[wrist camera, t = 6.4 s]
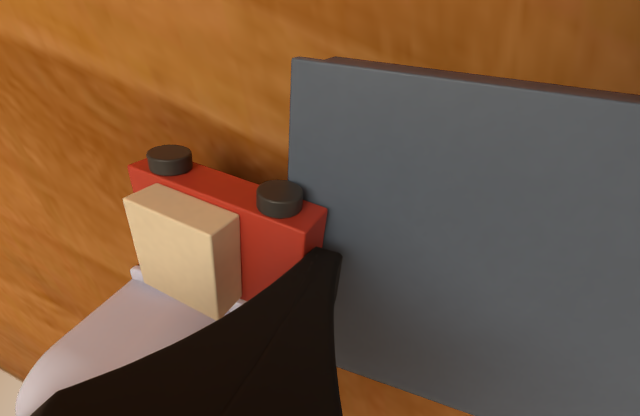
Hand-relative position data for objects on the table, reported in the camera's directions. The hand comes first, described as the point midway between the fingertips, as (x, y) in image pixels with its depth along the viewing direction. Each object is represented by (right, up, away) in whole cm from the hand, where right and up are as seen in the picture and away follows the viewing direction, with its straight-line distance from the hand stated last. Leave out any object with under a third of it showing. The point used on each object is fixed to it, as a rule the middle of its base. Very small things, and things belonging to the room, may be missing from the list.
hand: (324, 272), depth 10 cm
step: (+6, +1, +3) cm, 7 cm away
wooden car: (-3, +2, +2) cm, 4 cm away
